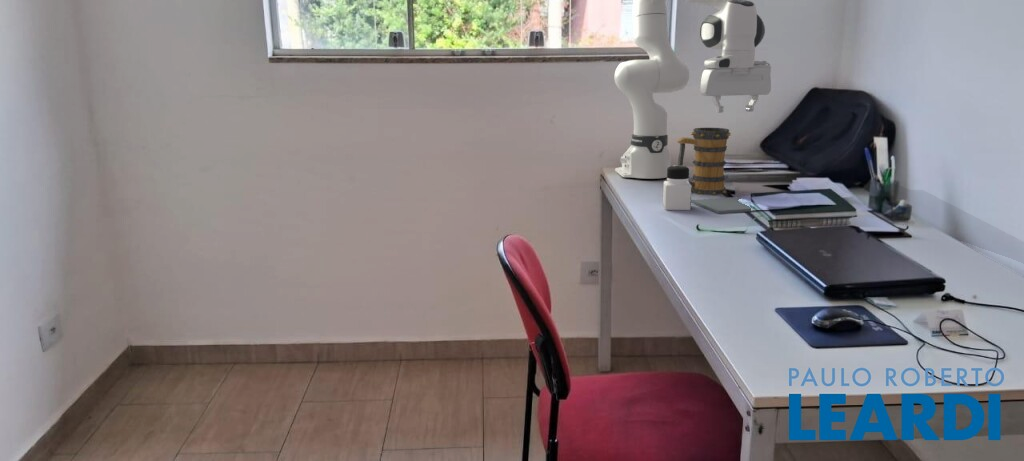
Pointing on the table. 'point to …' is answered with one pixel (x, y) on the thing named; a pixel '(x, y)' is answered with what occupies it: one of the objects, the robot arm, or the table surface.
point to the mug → (707, 159)
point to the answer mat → (722, 205)
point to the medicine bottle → (677, 189)
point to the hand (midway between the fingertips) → (734, 111)
